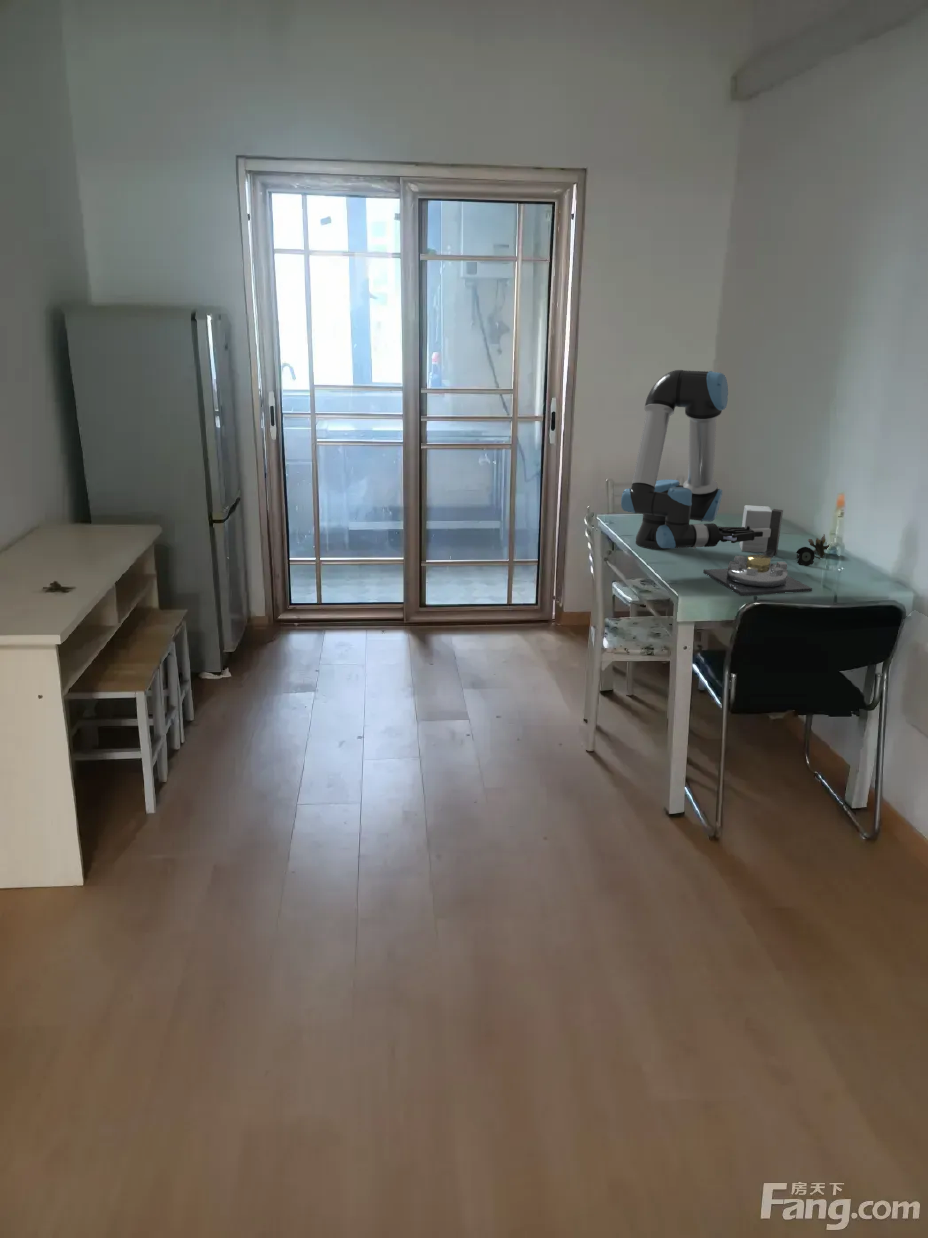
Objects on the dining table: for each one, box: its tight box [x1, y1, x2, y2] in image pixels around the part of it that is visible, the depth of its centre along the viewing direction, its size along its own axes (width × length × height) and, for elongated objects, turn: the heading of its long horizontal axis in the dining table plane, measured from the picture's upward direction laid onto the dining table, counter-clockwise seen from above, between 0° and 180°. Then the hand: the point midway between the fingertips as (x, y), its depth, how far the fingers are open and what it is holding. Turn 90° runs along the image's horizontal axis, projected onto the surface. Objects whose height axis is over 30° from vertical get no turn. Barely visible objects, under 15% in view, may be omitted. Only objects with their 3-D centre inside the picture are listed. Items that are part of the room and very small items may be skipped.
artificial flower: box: [795, 534, 830, 567], centre depth 308 cm, size 9×22×10 cm, turn 136°
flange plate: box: [703, 554, 813, 597], centre depth 281 cm, size 24×24×8 cm
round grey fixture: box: [727, 508, 788, 587], centre depth 283 cm, size 30×18×18 cm, turn 150°
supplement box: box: [739, 504, 773, 553], centre depth 317 cm, size 9×9×15 cm
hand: (769, 532), depth 293 cm, fingers closed
